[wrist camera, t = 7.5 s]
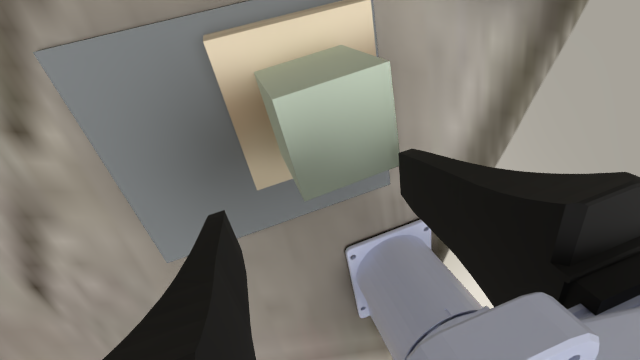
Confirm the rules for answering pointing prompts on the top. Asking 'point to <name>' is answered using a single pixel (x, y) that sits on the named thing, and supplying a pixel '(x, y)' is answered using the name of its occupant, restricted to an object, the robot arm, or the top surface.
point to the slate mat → (177, 126)
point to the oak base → (272, 49)
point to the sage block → (332, 117)
